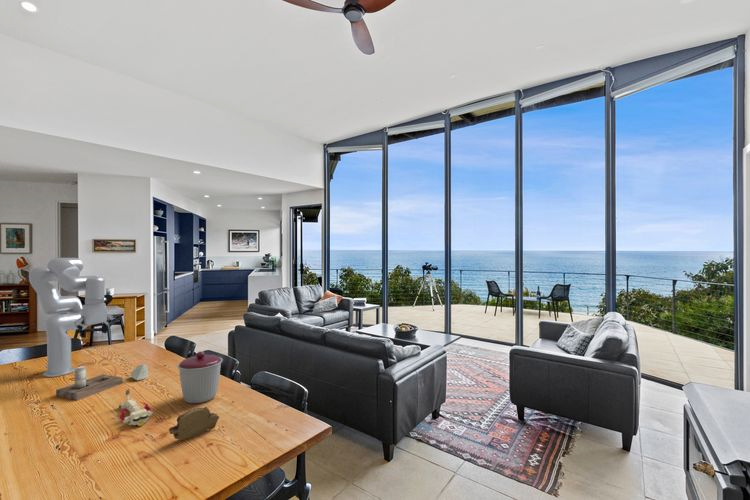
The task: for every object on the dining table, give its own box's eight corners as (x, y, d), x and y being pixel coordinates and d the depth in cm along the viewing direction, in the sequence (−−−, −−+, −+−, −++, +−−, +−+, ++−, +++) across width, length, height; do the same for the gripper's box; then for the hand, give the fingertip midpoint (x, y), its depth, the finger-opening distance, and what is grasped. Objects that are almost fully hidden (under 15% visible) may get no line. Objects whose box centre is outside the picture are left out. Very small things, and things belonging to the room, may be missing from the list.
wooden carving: (214, 424, 130) (214, 398, 130) (220, 428, 127) (219, 402, 127) (166, 443, 117) (166, 415, 117) (171, 448, 114) (171, 419, 114)
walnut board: (56, 396, 155) (56, 389, 155) (102, 380, 174) (102, 374, 174) (77, 400, 151) (77, 393, 151) (122, 383, 170) (122, 377, 170)
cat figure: (112, 413, 142) (125, 431, 124) (112, 392, 142) (124, 406, 125) (141, 405, 149) (156, 421, 132) (140, 385, 150) (156, 397, 132)
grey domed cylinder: (72, 394, 157) (72, 368, 157) (82, 391, 161) (82, 365, 161) (78, 395, 156) (78, 369, 156) (88, 392, 160) (88, 366, 160)
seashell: (151, 369, 184) (152, 365, 178) (144, 385, 179) (145, 381, 173) (135, 365, 181) (135, 361, 175) (126, 381, 176) (127, 378, 170)
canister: (204, 409, 142) (204, 359, 142) (167, 405, 146) (167, 356, 146) (230, 391, 160) (230, 347, 160) (197, 388, 163) (197, 345, 163)
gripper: (108, 298, 182) (107, 330, 182) (69, 303, 165) (69, 338, 166) (117, 299, 179) (117, 332, 179) (79, 304, 163) (79, 340, 163)
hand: (94, 335), depth 172 cm, fingers open, 9 cm apart
